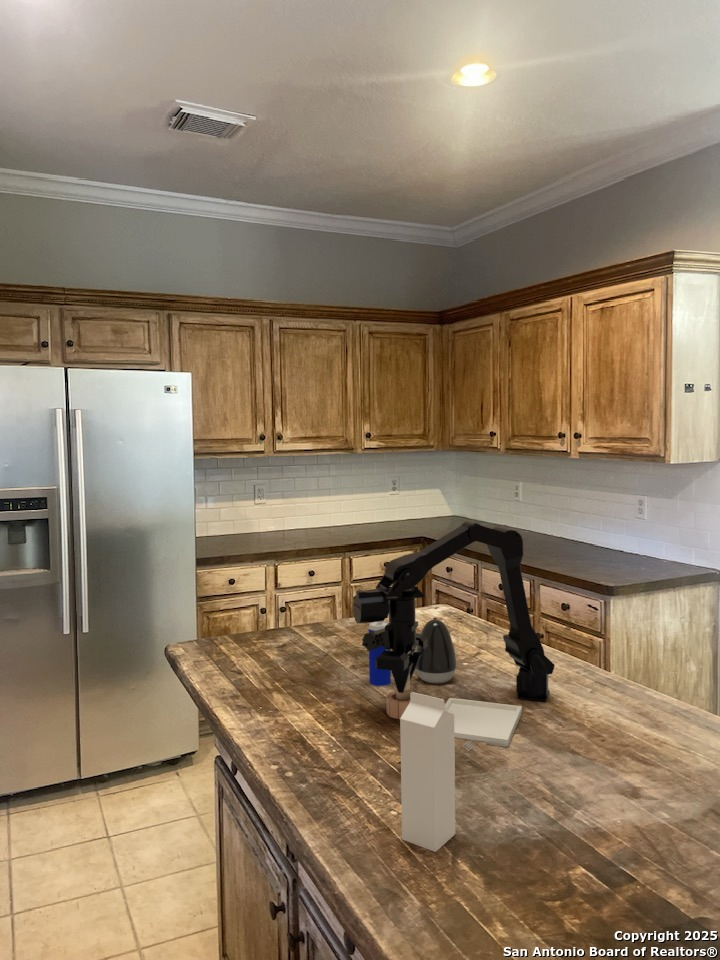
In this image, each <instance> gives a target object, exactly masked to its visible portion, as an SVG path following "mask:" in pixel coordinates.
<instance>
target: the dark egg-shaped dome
mask: <svg viewBox="0 0 720 960" xmlns="http://www.w3.org/2000/svg"><path fill="white" fill-rule="evenodd" d="M420 634H424V635H425V636H426V637H427V640H428V646H427V647H426V648H425V649H422V648H421V646H420V645H418V646H417V647H416V648H415V649H416V652H421V653H422V655H421V657H420V659H419V662H418V664H417V666H416V669H415V671H416V673H417V675H418V677H419V678H420V679H421V680H422V681H423V682H425V683H430V684H439V685H440V684H441V685H442V684H445V683H447V682H449V681H450V680H451V679H452V678H453V676H454V675H455V672H456V669H457V665H458V664H457V663H458V662H457V656H456V651H455V647H454V643H453V639H452V637H451V633H450V631H449V629H448V628H447V626H446V624H445V623H444V622H443V621H442V620H439V619H438V618H437V617H433V618H432V619H431V620H428V621H427V622H426V623H425V624H424V626H423V628H422V629H421V632H420Z"/></svg>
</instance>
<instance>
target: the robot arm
mask: <svg viewBox="0 0 720 960" xmlns="http://www.w3.org/2000/svg"><path fill="white" fill-rule="evenodd" d="M475 542H479V543H482V544H485V545H486V547H487V549H488V551H489V554H490V556H491V558H492V559H493V561H494V563H495V564H496V566H497V568H498V571H499V575H500V581H501V585H502V590H503V596H504V600H505V606H506V611H507V616H508V621H509V622H508V623H509V625H510V626H509V631H508V634H503V635H502V638H503V641H504V644H505V649H504V652H506V653H507V654H508V656H509V657H510V658H511V659H513V662H514V664H515V666H518V667H519V669H518V673H517V675H516V678H515V679H516V683H515V684H516V686H515V687H516V694H517V699H520V700H527V701H529V700H530V701H539V702H547V701H548V698H549V695H550V690H549V675H552V674H553V673H554V670H555V664H554V662H553V661H551V659H549V658H548V656H546V654H545V650H544V646H543V645H542V642H541V638H540V637H539V636H538V633H537V632H536V631H535V629H534V627H533V625H532V621H531V616H530V611H529V606H528V600H527V596H526V589H525V586H524V585H525V584H524V580H523V575H522V570H521V565H522V561H523V557H524V539H523V537H522V535H521V533H520V532H518V531H517V530H514V529H509V528H506V527H501V526H495V527H493V528H490V527H486V526H483V525H481V524H480V523H476V522H473V521H464V522H463V523H461V525H460V526H458V527H457V528H455V529H454V530H452V531H450V532H449V533H446V534H445V535H443V536H441V537H440V538H439V539H437V540H435V541H433V542H432V543H430V544H428V545H427V546H425V547H424V548H422V549H420V550H419V551H416V552H412V553H409V554H404V555H401V556H399V557H397V558H394V559H392V560H390V561H389V562H388V563H387V564H386V567H385V569H384V573H383V576H382V577H381V579H380V580H379V582H378V583H377V584H376V586H375V589H372V590H364V589H362V590H361V589H359V590H358V589H357V590H356V592H355V593H356V594H355V595H356V596H355V597H354V599H353V603H352V613H353V617H354V621H355V623H356V624H367V623H369V624H370V623H371V622H379V621H382V622H385V620H386V619H388V622H387V623H388V624H387V625H386V626H385V628H384V629H380V630H377V631H371V632H370V633H369V632H366V633H364V634H363V637H362V638H361V640H362V642H361V643H362V644H361V646H362V647H364V648H365V649H366V651H367V652H369V651H372V650H373V649H376V648H380V647H383V646H384V649H388V650H390V651H384V652H382V653H381V654H380V655H379V656H378V657H377V658H376V659H375V667H376V668H377V669H383V670H391V674H392V676H393V680H394V683H395V688H396V687H397V690H398V692H399V693H403V692H404V689H405V686H406V683H407V680H408V677H409V674H410V682H411V680H412V679H413V678H412V677H413V675H414V674H415V672H416V666H417V664H418V662H419V659H420V657H421V655H422V653H421V652H416V649H417V646H418V645H420V646H421V648H422V649H425V648H426V647H427V646H428V640H427V637H426V636H425V635H424V634H421V633H419V632H417V631H416V629H417V628H418V627H419V621H418V620H417V621H416V599H421V598H422V599H423V598H425V597H426V595H425V593H423V592H422V591H421V590H420V589H419V587H418V584H419V583H421V582H422V580H423V579H425V578H426V575H428V573H429V572H430V570H432V569H433V568H435V567H436V566H438V565H440V564H441V563H442V562H444V561H445V560H447V559H449V558H450V557H452V556H454V555H456V554H457V553H458V552H461V551H462V550H463V549H465V548H466V547H468V546H470V545H471V544H473V543H475ZM416 632H417V633H416Z"/></svg>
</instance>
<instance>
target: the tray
mask: <svg viewBox="0 0 720 960" xmlns="http://www.w3.org/2000/svg"><path fill="white" fill-rule="evenodd" d="M445 710H446V711H448V712H450V713H452V714H454V739H461V740H468V741H469V740H470V739H471V740H470V741H472V740H473V742H475V741H476V742H482V743H486V745H488V746H495V747H504V748H508V747H509V746H510V743H511V740H512V739H513V735H514V734H515V730H516V729H517V726H518V723H519V721H520V719H521V716H522V714H523V706H522V705H515V704H506V703H505V704H504V703H498V702H497V703H496V702H489V701H482V700H481V701H480V700H471V699H464V698H454V697H449V698H448V699H447V701H446V702H445Z"/></svg>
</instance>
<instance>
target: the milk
mask: <svg viewBox="0 0 720 960" xmlns="http://www.w3.org/2000/svg"><path fill="white" fill-rule="evenodd" d="M445 704H446V702H445V700H444V699H442V698H438V697H434V696H431V695H426V694H422V693H417V692H415V693H414V692H413V691H411V694H410V703H409V705H408V706H407V708H406V710H405V711H404V713H403V715H402V716H401V718H400V719H399V721H400V722H399V724H400V726H399V728H400V729H399V731H400V761H401V763H400V791H401V793H400V794H401V795H400V796H401V839H402V840H403V841H405V842H408V843H410V844H413V845H416V846H418V847H421V848H424V849H426V850H428V851H431V852H433V853H436V852H438V851H439V850H440V849H441V848H442V847H443V846H444V845H445V844H446V843H448V842H449V840H451V839H452V838H453V837H454V836H455V835H456V776H455V775H456V774H455V773H456V769H455V767H456V766H455V765H456V764H455V762H456V761H455V758H456V757H455V751H456V749H455V747H456V746H455V745H456V744H455V738H454V714H452V713H450V712H448V711H446V710H445Z"/></svg>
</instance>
